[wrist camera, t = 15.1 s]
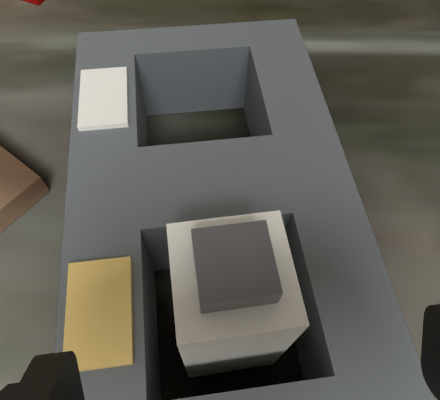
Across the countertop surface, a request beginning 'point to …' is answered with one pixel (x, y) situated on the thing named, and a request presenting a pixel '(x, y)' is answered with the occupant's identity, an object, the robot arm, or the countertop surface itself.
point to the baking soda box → (35, 1)
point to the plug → (233, 292)
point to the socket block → (218, 209)
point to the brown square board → (17, 188)
